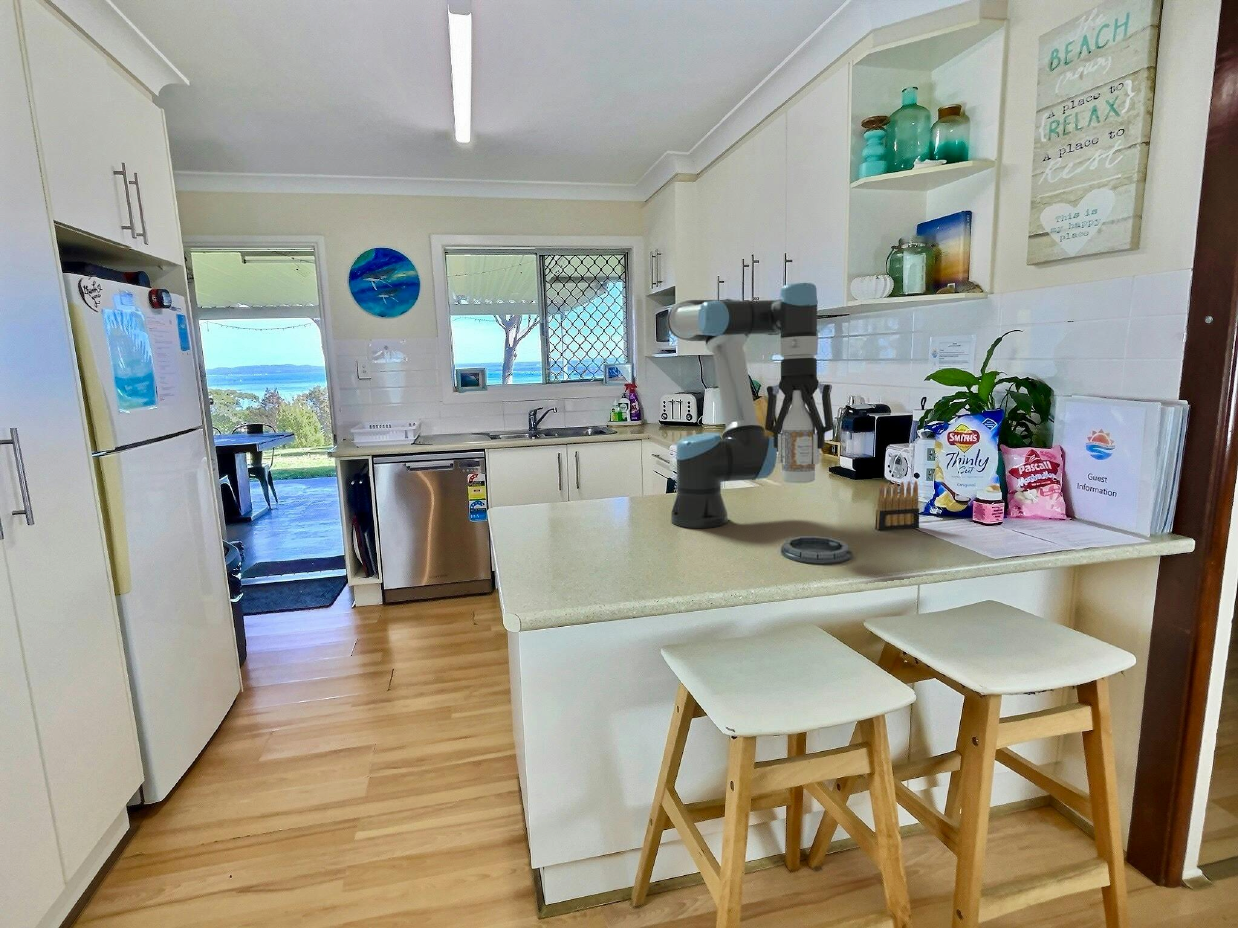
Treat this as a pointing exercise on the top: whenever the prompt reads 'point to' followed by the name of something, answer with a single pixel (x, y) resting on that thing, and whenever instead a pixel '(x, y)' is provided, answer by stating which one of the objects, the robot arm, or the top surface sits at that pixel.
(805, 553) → the ring tray
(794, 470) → the bath foam
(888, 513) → the ammunition clip
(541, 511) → the top surface
